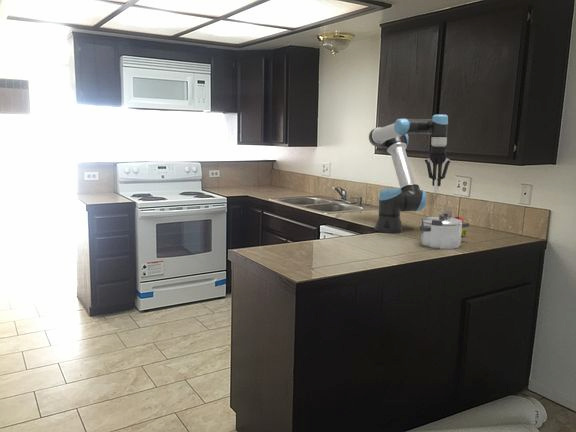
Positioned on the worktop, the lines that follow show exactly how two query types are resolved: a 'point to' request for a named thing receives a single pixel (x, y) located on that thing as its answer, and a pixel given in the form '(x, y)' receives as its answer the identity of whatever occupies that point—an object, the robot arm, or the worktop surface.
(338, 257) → the worktop surface
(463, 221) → the bird rattle
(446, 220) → the lid
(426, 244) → the pot
